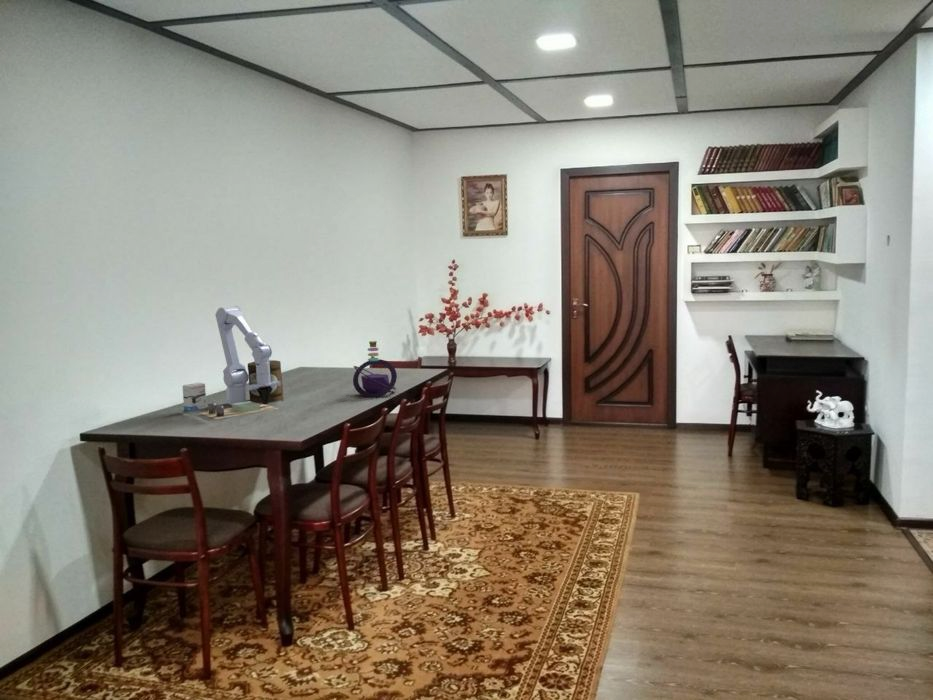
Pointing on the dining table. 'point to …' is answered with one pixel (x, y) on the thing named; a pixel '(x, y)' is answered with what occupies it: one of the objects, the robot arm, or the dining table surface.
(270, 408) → the bench board
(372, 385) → the decorative bottle
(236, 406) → the mint green book-shaped slab
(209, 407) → the cylinder
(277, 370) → the wooden container
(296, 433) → the dining table surface
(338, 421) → the dining table surface
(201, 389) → the ink box
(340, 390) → the dining table surface
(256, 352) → the robot arm
